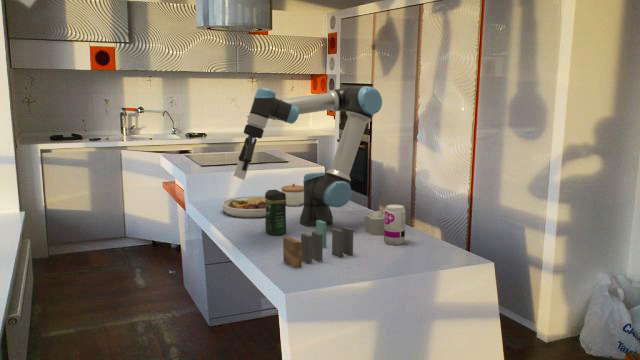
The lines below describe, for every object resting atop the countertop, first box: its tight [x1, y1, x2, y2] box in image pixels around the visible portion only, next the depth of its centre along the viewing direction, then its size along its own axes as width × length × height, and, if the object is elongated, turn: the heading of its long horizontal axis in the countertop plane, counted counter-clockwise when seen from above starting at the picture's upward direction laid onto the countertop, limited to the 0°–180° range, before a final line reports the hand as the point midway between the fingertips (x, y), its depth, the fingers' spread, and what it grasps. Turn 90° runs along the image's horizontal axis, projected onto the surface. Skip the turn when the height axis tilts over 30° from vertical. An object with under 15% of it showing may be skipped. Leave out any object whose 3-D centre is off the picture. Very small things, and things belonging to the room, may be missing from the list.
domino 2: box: [315, 220, 327, 249], centre depth 240 cm, size 2×5×10 cm, turn 31°
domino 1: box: [300, 232, 313, 264], centre depth 220 cm, size 2×5×10 cm, turn 32°
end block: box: [282, 236, 303, 268], centre depth 217 cm, size 3×8×9 cm, turn 32°
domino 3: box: [311, 230, 324, 262], centre depth 222 cm, size 2×5×10 cm, turn 32°
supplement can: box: [383, 203, 406, 246], centre depth 244 cm, size 8×8×15 cm
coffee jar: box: [264, 189, 287, 236], centre depth 258 cm, size 10×8×19 cm
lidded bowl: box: [280, 183, 304, 207], centre depth 314 cm, size 13×13×11 cm
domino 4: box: [331, 227, 344, 259], centre depth 227 cm, size 2×5×10 cm, turn 32°
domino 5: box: [341, 226, 354, 257], centre depth 229 cm, size 2×5×10 cm, turn 32°
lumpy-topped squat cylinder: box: [365, 210, 385, 236], centre depth 261 cm, size 10×13×9 cm
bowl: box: [221, 195, 266, 219], centre depth 298 cm, size 30×30×8 cm
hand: (238, 177), depth 239 cm, fingers open, 13 cm apart
